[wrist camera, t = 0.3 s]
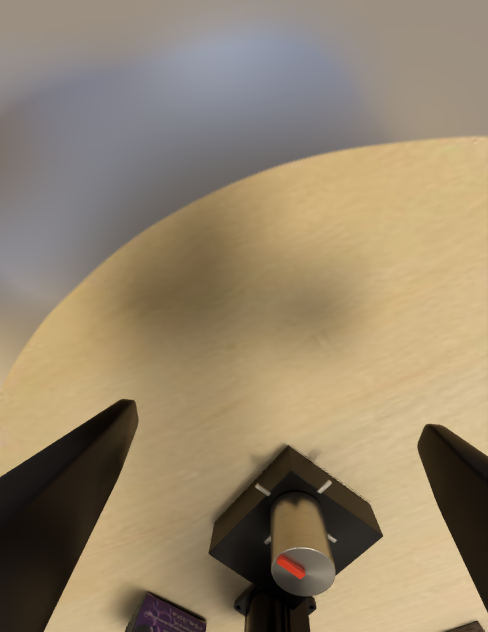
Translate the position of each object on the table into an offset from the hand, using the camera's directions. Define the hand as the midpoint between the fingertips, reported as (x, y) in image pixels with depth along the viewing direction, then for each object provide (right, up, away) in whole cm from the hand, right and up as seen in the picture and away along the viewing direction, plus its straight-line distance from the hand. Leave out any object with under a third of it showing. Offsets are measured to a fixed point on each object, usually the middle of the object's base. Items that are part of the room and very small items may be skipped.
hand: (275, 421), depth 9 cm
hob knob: (+4, -14, +15) cm, 20 cm away
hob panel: (+4, -16, +18) cm, 25 cm away
